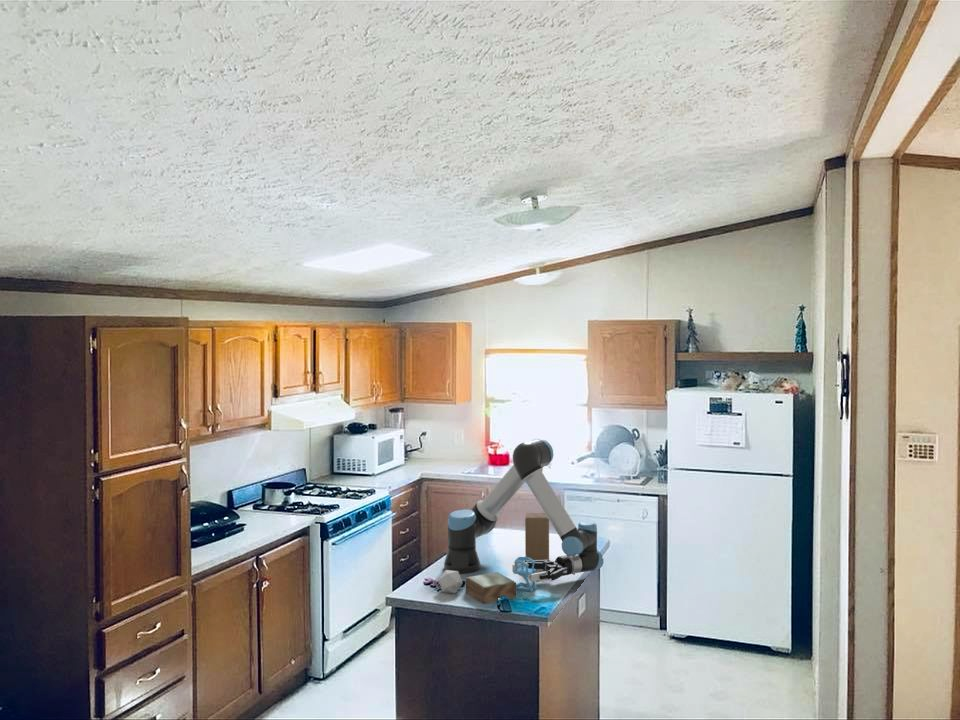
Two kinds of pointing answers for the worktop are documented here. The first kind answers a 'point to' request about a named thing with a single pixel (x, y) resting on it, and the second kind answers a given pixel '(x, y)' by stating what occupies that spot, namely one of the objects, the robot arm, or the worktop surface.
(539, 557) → the block
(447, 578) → the die
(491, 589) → the base block
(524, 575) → the chair
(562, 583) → the worktop surface
